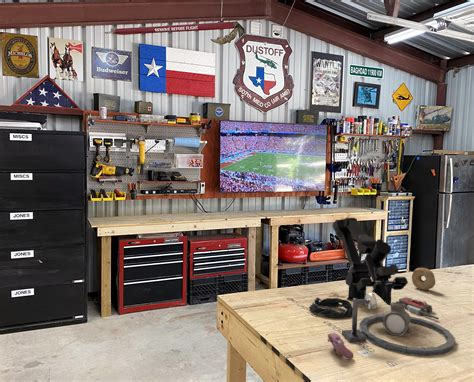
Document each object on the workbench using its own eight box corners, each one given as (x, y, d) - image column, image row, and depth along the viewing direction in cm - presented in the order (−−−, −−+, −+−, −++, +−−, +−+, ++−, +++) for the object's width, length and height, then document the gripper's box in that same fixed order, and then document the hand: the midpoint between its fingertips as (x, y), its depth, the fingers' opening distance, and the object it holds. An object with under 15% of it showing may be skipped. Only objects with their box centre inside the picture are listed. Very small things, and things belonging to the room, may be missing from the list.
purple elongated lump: (331, 350, 135) (322, 331, 134) (344, 343, 135) (335, 325, 134) (342, 365, 125) (332, 345, 124) (355, 358, 125) (346, 338, 124)
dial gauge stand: (349, 342, 137) (351, 297, 136) (341, 334, 143) (343, 291, 142) (375, 340, 139) (377, 296, 138) (366, 333, 145) (368, 290, 144)
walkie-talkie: (391, 306, 173) (436, 323, 156) (392, 295, 173) (437, 311, 156) (405, 302, 178) (450, 318, 161) (406, 292, 177) (450, 307, 160)
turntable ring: (349, 339, 139) (349, 335, 139) (371, 312, 165) (372, 308, 165) (449, 364, 124) (449, 359, 123) (457, 330, 149) (457, 325, 149)
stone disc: (409, 287, 198) (410, 266, 197) (412, 285, 201) (414, 265, 200) (432, 292, 191) (434, 271, 190) (435, 291, 194) (436, 269, 193)
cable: (358, 312, 165) (359, 302, 165) (344, 323, 154) (345, 312, 153) (319, 303, 175) (319, 292, 175) (303, 312, 164) (303, 301, 164)
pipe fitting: (407, 338, 140) (406, 307, 141) (382, 334, 145) (382, 304, 145) (415, 330, 150) (414, 301, 151) (392, 327, 155) (391, 299, 155)
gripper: (361, 257, 156) (374, 295, 146) (406, 256, 160) (422, 293, 150) (351, 272, 165) (363, 309, 155) (394, 271, 168) (408, 307, 158)
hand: (389, 304), depth 154 cm, fingers closed
